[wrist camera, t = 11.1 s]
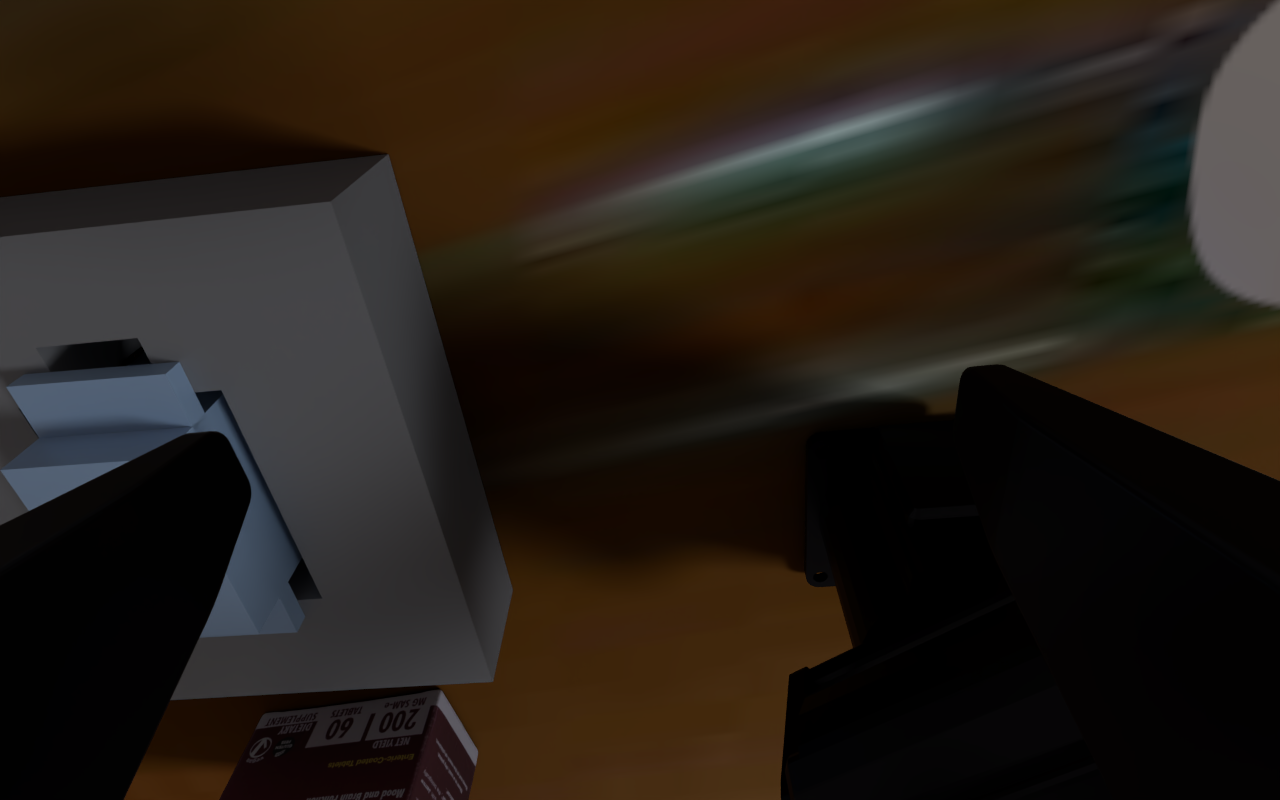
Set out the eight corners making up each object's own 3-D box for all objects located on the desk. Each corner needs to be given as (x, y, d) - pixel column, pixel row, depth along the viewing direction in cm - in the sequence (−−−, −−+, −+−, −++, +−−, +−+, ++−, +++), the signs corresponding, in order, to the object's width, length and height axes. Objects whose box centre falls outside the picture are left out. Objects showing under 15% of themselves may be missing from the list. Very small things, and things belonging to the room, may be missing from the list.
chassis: (512, 589, 28) (492, 681, 24) (158, 613, 29) (91, 704, 25) (388, 154, 19) (330, 201, 16) (-110, 209, 20) (-265, 265, 17)
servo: (351, 525, 26) (278, 668, 21) (243, 532, 26) (145, 676, 21) (255, 289, 21) (130, 400, 16) (124, 300, 22) (-40, 412, 16)
